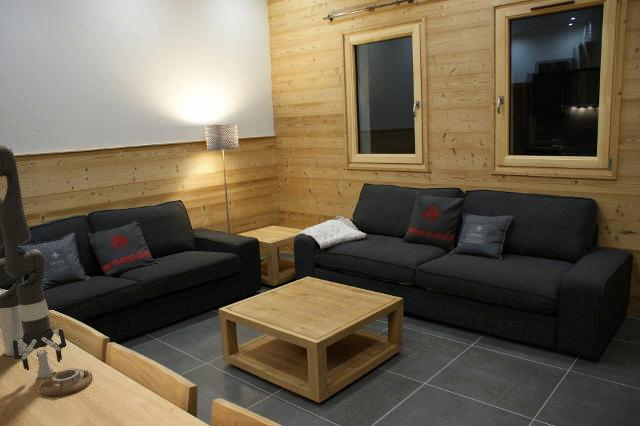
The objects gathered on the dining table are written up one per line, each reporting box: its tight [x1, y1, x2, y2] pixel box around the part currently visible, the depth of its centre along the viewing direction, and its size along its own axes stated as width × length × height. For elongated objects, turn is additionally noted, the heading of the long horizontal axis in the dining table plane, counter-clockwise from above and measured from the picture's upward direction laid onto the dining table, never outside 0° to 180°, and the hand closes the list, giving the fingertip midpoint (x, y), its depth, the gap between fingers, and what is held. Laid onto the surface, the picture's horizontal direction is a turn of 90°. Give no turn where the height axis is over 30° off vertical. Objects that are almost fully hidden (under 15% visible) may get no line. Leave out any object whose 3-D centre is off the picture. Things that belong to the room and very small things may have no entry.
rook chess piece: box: [35, 349, 54, 379], centre depth 167 cm, size 4×4×8 cm
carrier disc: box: [39, 367, 93, 398], centre depth 160 cm, size 14×14×3 cm
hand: (43, 365), depth 166 cm, fingers open, 8 cm apart
